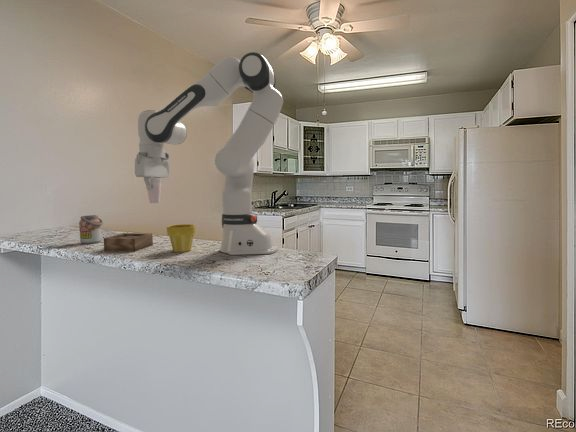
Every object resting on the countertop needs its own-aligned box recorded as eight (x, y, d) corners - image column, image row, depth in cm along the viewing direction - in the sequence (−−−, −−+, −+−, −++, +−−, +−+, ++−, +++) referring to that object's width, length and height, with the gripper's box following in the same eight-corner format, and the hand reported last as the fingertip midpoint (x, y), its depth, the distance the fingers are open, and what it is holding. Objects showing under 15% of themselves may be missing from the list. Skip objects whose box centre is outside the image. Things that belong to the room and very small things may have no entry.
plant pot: (179, 247, 134) (178, 223, 133) (201, 248, 131) (200, 224, 130) (162, 252, 124) (161, 226, 123) (185, 253, 121) (184, 227, 120)
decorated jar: (108, 241, 150) (106, 215, 148) (95, 244, 141) (93, 217, 140) (89, 240, 151) (87, 215, 149) (75, 244, 142) (73, 217, 141)
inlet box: (152, 244, 139) (152, 233, 139) (135, 251, 126) (134, 238, 126) (124, 244, 140) (123, 233, 140) (104, 250, 128) (103, 238, 127)
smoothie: (157, 203, 126) (155, 166, 124) (142, 203, 127) (140, 167, 126) (166, 202, 132) (164, 167, 131) (152, 202, 133) (150, 167, 132)
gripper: (145, 150, 117) (147, 189, 118) (171, 155, 137) (173, 188, 139) (128, 151, 118) (131, 189, 119) (157, 156, 138) (159, 188, 139)
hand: (154, 189), depth 129 cm, fingers closed on smoothie, 5 cm apart
